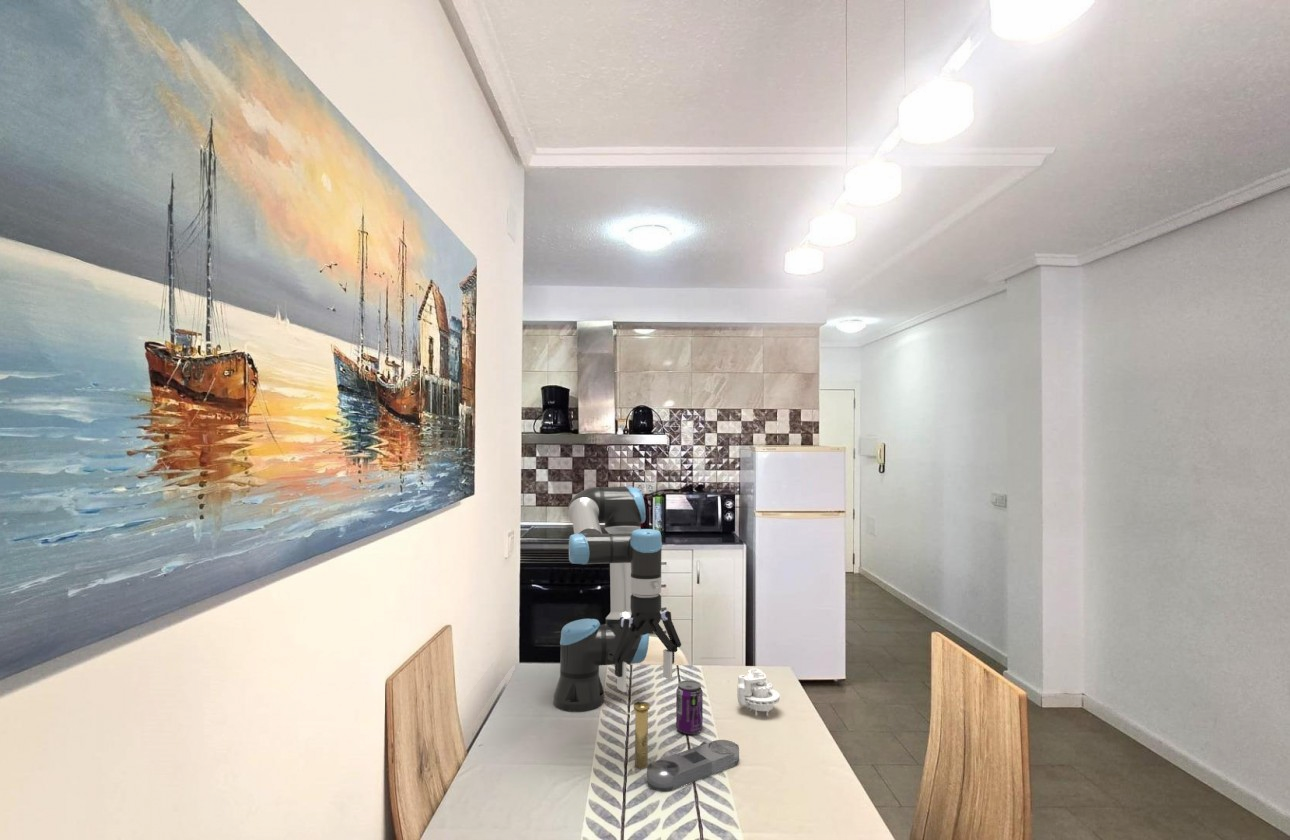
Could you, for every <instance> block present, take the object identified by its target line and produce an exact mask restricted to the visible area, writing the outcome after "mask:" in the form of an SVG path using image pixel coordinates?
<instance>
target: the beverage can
mask: <svg viewBox="0 0 1290 840" xmlns="http://www.w3.org/2000/svg"><path fill="white" fill-rule="evenodd" d="M701 686H702V685H701V683H700V682H699V681H696V680H691V679H690V680H688V679H687V680H681V681H679V682H678V683H677V688H676V692H675V693H676V695H675V696H676V698H675V699H676V700H675V701H676V703H675V704H676V707H675V711H676V713H675V715H676V716H675V717H676V720H675V728H676V729H677V731H679V732H681V733H682V732H683V733H682V734H685V733H686V734H685V735H695V734H698V733H699V732H701V731H702V730H703V727H704V724H703V722H704V721H703V719H704V718H703V713H704V712H703V708H704V706H703V702H704V701H703V697H704V696H703V693H704V692H703V690H702V687H701ZM694 733H695V734H694Z"/></svg>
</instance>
